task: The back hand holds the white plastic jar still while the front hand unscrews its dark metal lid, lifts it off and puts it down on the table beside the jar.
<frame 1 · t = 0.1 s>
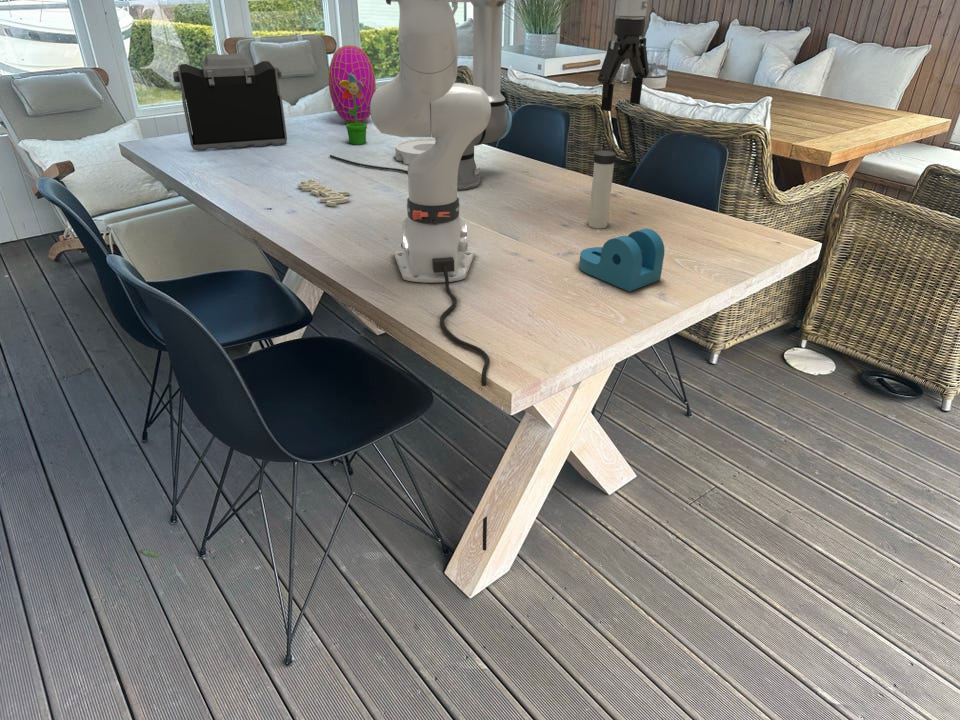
front hand: (430, 23, 166), 48 cm above the table, tool pointing down, fingers open, 8 cm apart
back hand: (620, 107, 182), 28 cm above the table, tool pointing down, fingers open, 13 cm apart
camera mount: (613, 273, 157), on the table
electronic device: (239, 142, 261), on the table
decorative egg: (355, 123, 293), on the table
jar: (597, 225, 185), on the table
lid: (604, 154, 175), point 19 cm above the table, screwed on, not yet turned
potted flower: (358, 143, 262), on the table
ashtray: (428, 158, 244), on the table
decorative sign: (325, 193, 206), on the table
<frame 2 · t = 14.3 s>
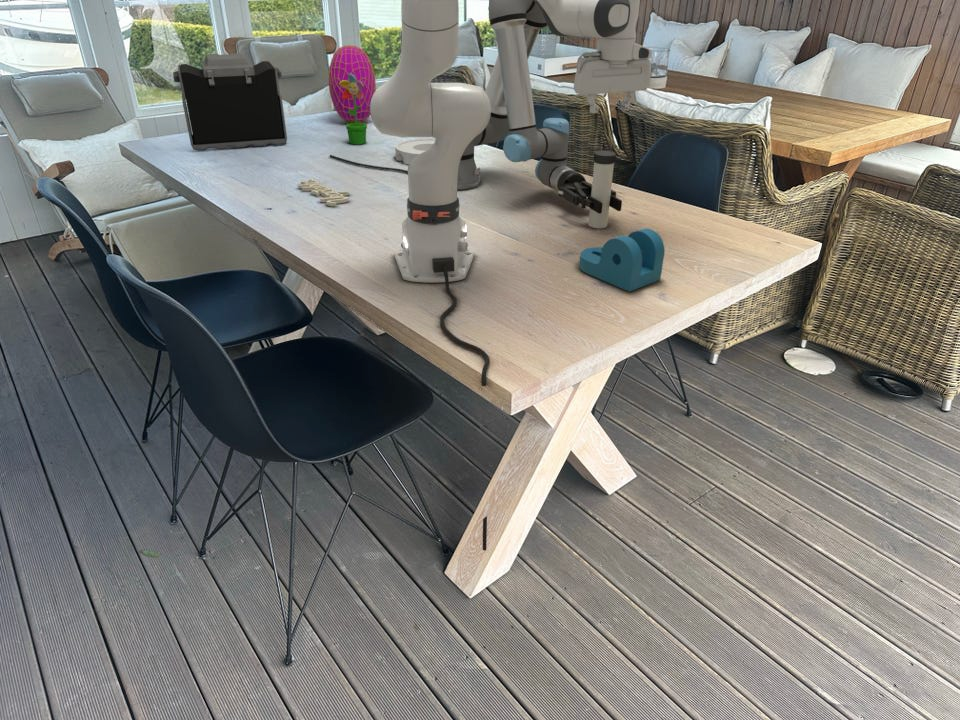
front hand: (609, 111, 170), 29 cm above the table, tool pointing down, fingers open, 8 cm apart
back hand: (610, 207, 177), 7 cm above the table, tool horizontal, fingers closed on jar, 5 cm apart
jar: (597, 225, 185), on the table, touching back hand
everything else where it was.
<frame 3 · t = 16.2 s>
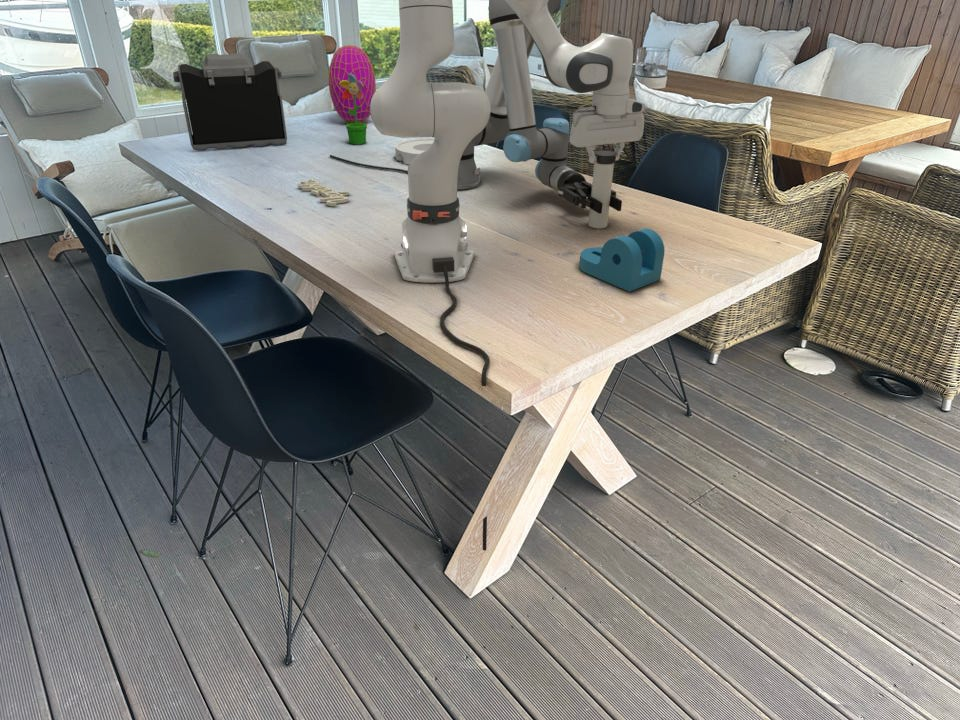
front hand: (604, 161, 176), 17 cm above the table, tool pointing down, fingers closed on lid, 5 cm apart
back hand: (610, 207, 177), 7 cm above the table, tool horizontal, fingers closed on jar, 5 cm apart
jar: (597, 225, 185), on the table, touching back hand
lid: (604, 154, 175), point 19 cm above the table, screwed on, not yet turned, touching front hand
everything else where it was.
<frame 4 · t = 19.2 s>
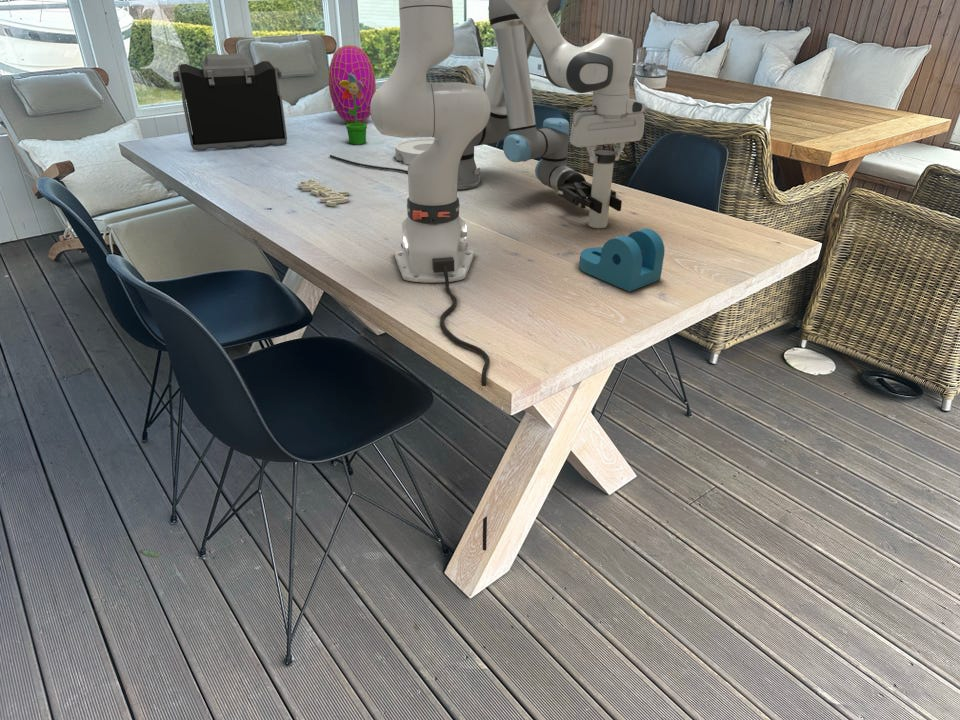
front hand: (604, 161, 176), 17 cm above the table, tool pointing down, fingers closed on lid, 5 cm apart
back hand: (610, 207, 177), 7 cm above the table, tool horizontal, fingers closed on jar, 5 cm apart
jar: (597, 225, 185), on the table, touching back hand
lid: (604, 154, 175), point 19 cm above the table, turned 68° so far, risen 0.1 cm, still on its thread, touching front hand
everything else where it was.
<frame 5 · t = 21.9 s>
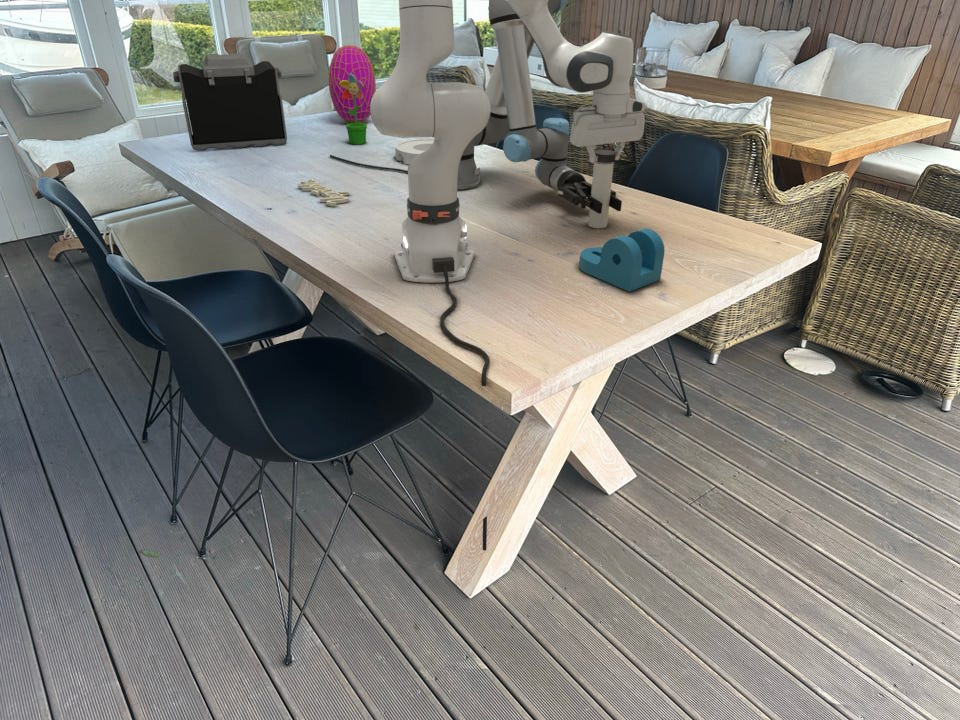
front hand: (604, 160, 176), 17 cm above the table, tool pointing down, fingers closed on lid, 5 cm apart
back hand: (610, 207, 177), 7 cm above the table, tool horizontal, fingers closed on jar, 5 cm apart
jar: (597, 225, 185), on the table, touching back hand
lid: (604, 153, 175), point 19 cm above the table, turned 136° so far, risen 0.2 cm, still on its thread, touching front hand
everything else where it was.
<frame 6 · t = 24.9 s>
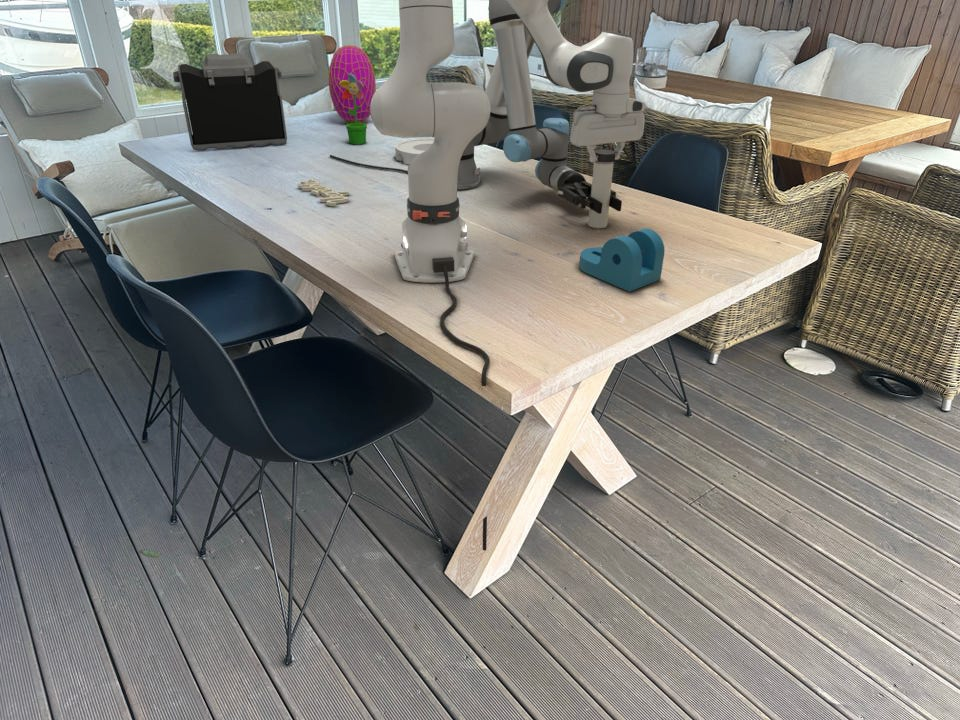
front hand: (604, 160, 176), 17 cm above the table, tool pointing down, fingers closed on lid, 5 cm apart
back hand: (610, 207, 177), 7 cm above the table, tool horizontal, fingers closed on jar, 5 cm apart
jar: (597, 225, 185), on the table, touching back hand
lid: (604, 153, 175), point 19 cm above the table, turned 204° so far, risen 0.3 cm, still on its thread, touching front hand
everything else where it was.
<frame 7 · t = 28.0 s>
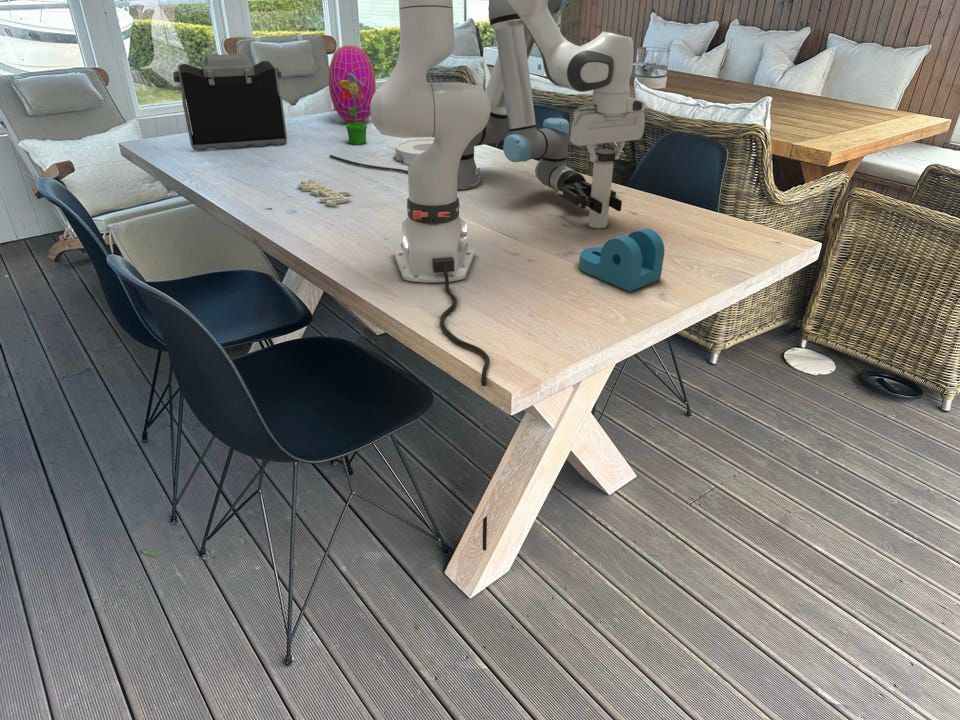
front hand: (604, 160, 176), 17 cm above the table, tool pointing down, fingers closed on lid, 5 cm apart
back hand: (610, 207, 177), 7 cm above the table, tool horizontal, fingers closed on jar, 5 cm apart
jar: (597, 225, 185), on the table, touching back hand
lid: (604, 152, 175), point 19 cm above the table, turned 273° so far, risen 0.4 cm, still on its thread, touching front hand
everything else where it was.
when the front hand's fingers open (2 cm above the table, at t = 37.6 s): lid drops 2 cm, point 2 cm above the table.
when the back hand's fingers open (7 cm above the table, at t = 38.5 s): jar stays where it is, on the table.
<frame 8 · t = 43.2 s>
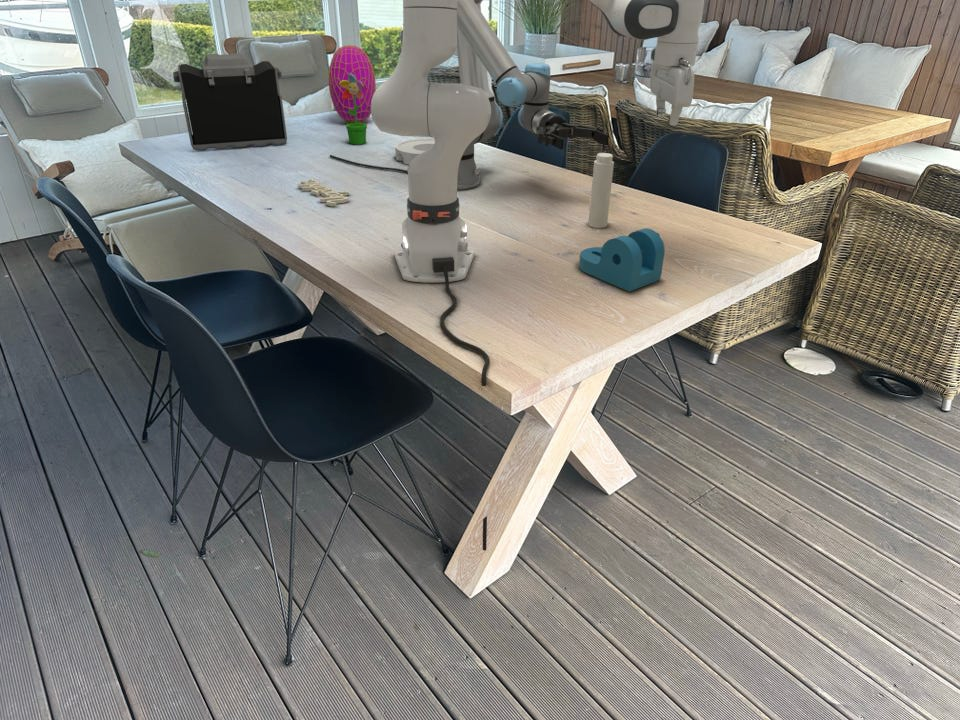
front hand: (666, 120, 159), 30 cm above the table, tool pointing down, fingers open, 8 cm apart
back hand: (585, 142, 183), 20 cm above the table, tool horizontal, fingers open, 13 cm apart
jar: (597, 224, 185), on the table
lid: (648, 235, 174), point 2 cm above the table, off its thread
everything else where it was.
at the end: lid came off its thread; lid point 1.7 cm above the table; the front hand is holding nothing; the back hand is holding nothing; jar tilted 0°; jar moved 0.2 cm from its start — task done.
